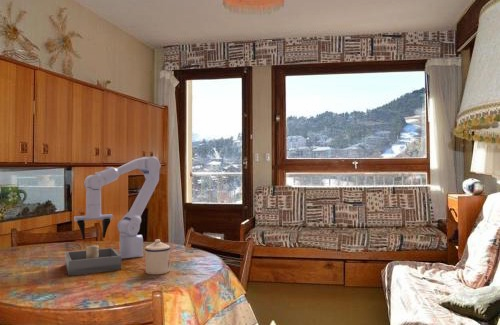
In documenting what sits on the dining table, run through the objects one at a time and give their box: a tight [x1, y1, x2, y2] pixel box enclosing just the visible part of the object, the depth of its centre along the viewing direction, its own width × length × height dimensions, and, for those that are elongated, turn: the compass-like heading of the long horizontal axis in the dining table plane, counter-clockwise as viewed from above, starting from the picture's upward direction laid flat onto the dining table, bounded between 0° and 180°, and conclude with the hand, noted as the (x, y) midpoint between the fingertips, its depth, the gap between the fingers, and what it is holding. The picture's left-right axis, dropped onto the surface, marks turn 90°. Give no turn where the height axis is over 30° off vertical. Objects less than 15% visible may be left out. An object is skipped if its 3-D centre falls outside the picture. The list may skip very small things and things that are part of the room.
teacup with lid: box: [144, 238, 171, 275], centre depth 154 cm, size 12×9×12 cm
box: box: [64, 247, 122, 276], centre depth 160 cm, size 18×18×5 cm
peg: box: [85, 244, 100, 259], centre depth 160 cm, size 4×4×8 cm
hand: (93, 238), depth 170 cm, fingers open, 7 cm apart
